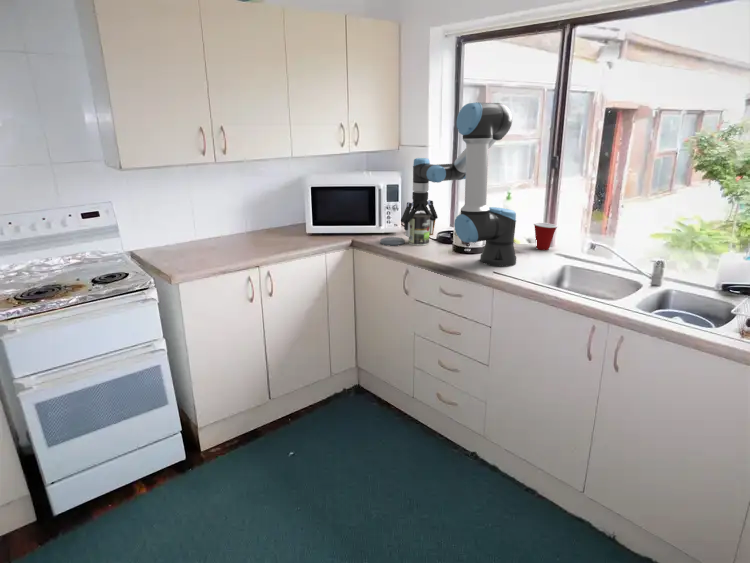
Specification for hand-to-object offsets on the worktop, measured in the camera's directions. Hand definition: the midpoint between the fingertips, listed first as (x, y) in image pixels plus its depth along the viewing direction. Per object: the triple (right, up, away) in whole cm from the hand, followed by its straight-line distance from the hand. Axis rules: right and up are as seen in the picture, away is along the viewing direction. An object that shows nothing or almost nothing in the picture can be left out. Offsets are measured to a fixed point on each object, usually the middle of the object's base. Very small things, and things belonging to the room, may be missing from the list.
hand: (418, 234), depth 246 cm
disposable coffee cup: (+6, +2, +20) cm, 21 cm away
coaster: (-13, -4, +2) cm, 14 cm away
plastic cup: (+58, -8, -9) cm, 59 cm away
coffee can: (0, -4, +1) cm, 4 cm away
